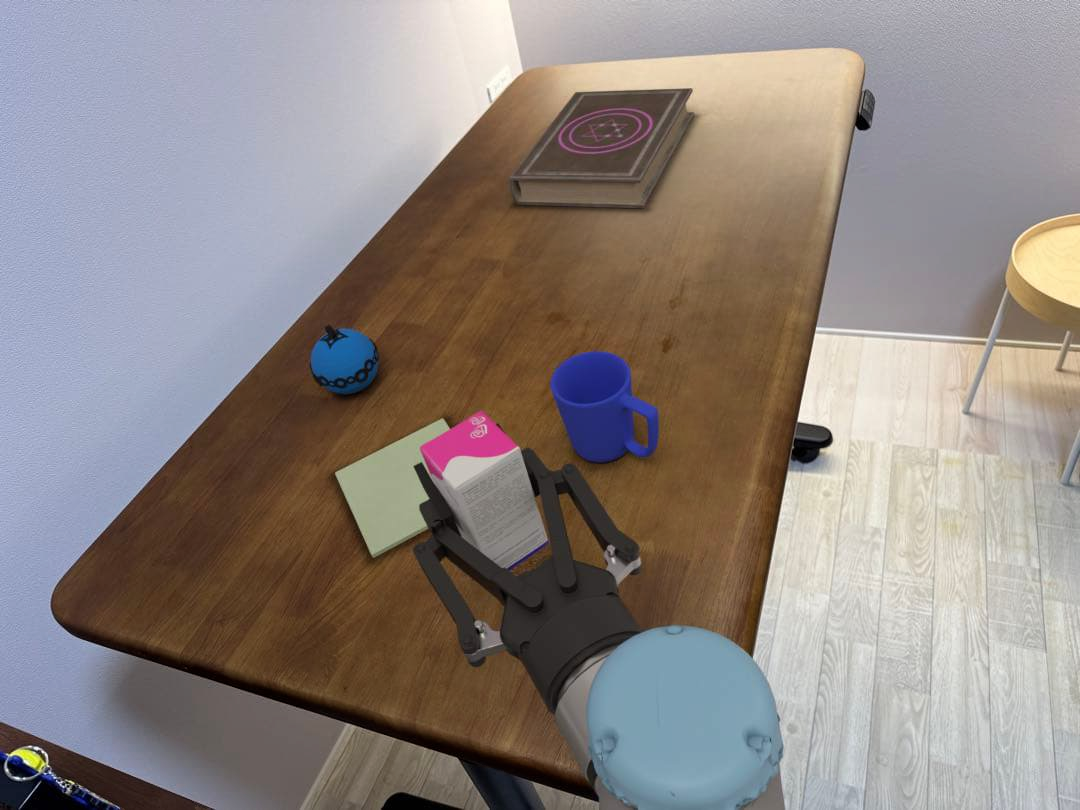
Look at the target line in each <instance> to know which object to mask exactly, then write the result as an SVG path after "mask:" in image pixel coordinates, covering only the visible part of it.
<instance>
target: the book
mask: <svg viewBox="0 0 1080 810" xmlns="http://www.w3.org/2000/svg"><path fill="white" fill-rule="evenodd" d="M693 90H694V89H693V87H687V88H686V87H684V88H683V87H681V88H658V89H657V88H656V89H655V88H653V89H652V88H651V89H629V90H628V89H625V90H598V91H597V90H596V91H575V92H574V93H573V94H572V96H571V97H570V99H569V100H568V101H567V102H566V103H565V105H564V106H563V107H562V108H561V110H560V111H559V112H558V114H557V115H556V116H555V118H554V119H553V120H552V121H551V123H550V124H549V125H548V127H546V129H545V131H544V132H543V133H542V134H541V136H539V139H538V140H537V141H536V142H535V144H534V145H533V146H532V147H531V149H530V150H529V151H528V153H527V154H526V155H525V156H524V158H523V159H522V160H521V161H520V163H519V164H518V166H517V167H516V168H515V169H514V171H513V172H512V173H511V175H510V176H509V178H508V186H509V192H510V196H511V198H512V199H513V201H514V203H515V205H518V206H549V207H551V206H553V207H582V208H585V207H586V208H614V209H615V208H616V209H645V207H646V205H647V204H648V201H649V200H650V198H651V196H652V194H653V193H654V190H655V188H656V187H657V185H658V183H659V181H660V179H661V178H662V175H663V173H664V172H665V171H666V168H667V166H668V165H669V163H670V161H671V159H672V157H673V155H674V153H675V151H676V150H677V147H678V146H679V144H680V142H681V141H682V139H683V137H684V136H685V133H686V131H687V130H688V128H689V126H690V124H691V123H692V121H693V118H694V116H695V112H694V111H688V108H687V103H688V100H689V99H690V97H691V95H692V93H693V92H694V91H693Z"/></svg>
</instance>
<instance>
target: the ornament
mask: <svg viewBox="0 0 1080 810" xmlns="http://www.w3.org/2000/svg"><path fill="white" fill-rule="evenodd" d="M324 330H325V332H326V333H325V334H323V335H322V336H321V337H320V338H319V339H318V340H317V341H316V343H315V345H314V347H313V349H312V351H311V355H310V363H309V368H310V372H311V375H312V378H313V379H314V381H315V383H316V384H317V386H319V387H323V388H324V389H326V390H328V391H330V392H332V393H333V394H334V393H335V394H339V395H350V394H356V393H358V392H361V391H362V390H364V389H366V388H367V387H368V386H370V384H371V383H372V382H373V380H374V379H375V377H376V375H377V372H378V369H379V361H380V355H379V352H378V347H377V345H376V343H375V342H374V341H373V339H371V338H370V337H369V338H368V336H367V335H365V334H364V333H362V332H361V331H359V330H355V329H352V328H336V329H334V328H333V326H332V325H331V324H327V325H325V326H324Z"/></svg>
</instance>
